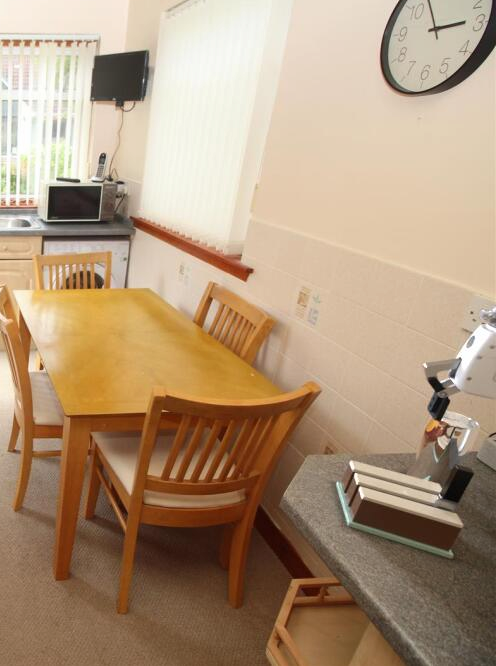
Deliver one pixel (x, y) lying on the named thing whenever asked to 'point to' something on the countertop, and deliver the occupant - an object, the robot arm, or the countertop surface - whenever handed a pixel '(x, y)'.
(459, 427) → the beer glass
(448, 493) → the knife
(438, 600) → the countertop surface
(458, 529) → the slatted panel
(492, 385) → the robot arm
